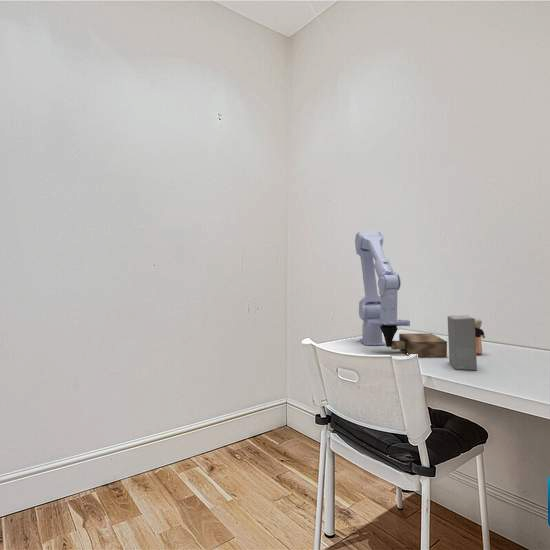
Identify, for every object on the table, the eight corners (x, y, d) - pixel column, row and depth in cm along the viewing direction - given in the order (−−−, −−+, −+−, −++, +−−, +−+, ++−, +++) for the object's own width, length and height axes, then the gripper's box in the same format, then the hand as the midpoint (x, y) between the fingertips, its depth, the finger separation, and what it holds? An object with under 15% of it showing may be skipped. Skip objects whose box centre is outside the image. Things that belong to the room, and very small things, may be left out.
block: (409, 357, 139) (409, 341, 139) (397, 347, 153) (397, 333, 153) (446, 357, 139) (447, 341, 139) (431, 347, 153) (431, 333, 153)
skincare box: (477, 370, 123) (478, 318, 123) (452, 369, 125) (452, 318, 124) (469, 363, 132) (470, 314, 131) (446, 362, 133) (446, 313, 132)
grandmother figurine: (475, 357, 140) (475, 320, 139) (464, 354, 143) (465, 318, 142) (488, 353, 144) (489, 317, 143) (477, 351, 147) (478, 316, 146)
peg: (392, 350, 145) (393, 341, 145) (390, 348, 148) (390, 339, 148) (427, 350, 145) (427, 341, 144) (423, 348, 148) (424, 339, 148)
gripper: (370, 309, 142) (370, 348, 142) (413, 309, 141) (412, 348, 142) (366, 307, 149) (366, 344, 149) (406, 306, 148) (406, 344, 149)
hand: (388, 346), depth 146 cm, fingers closed
